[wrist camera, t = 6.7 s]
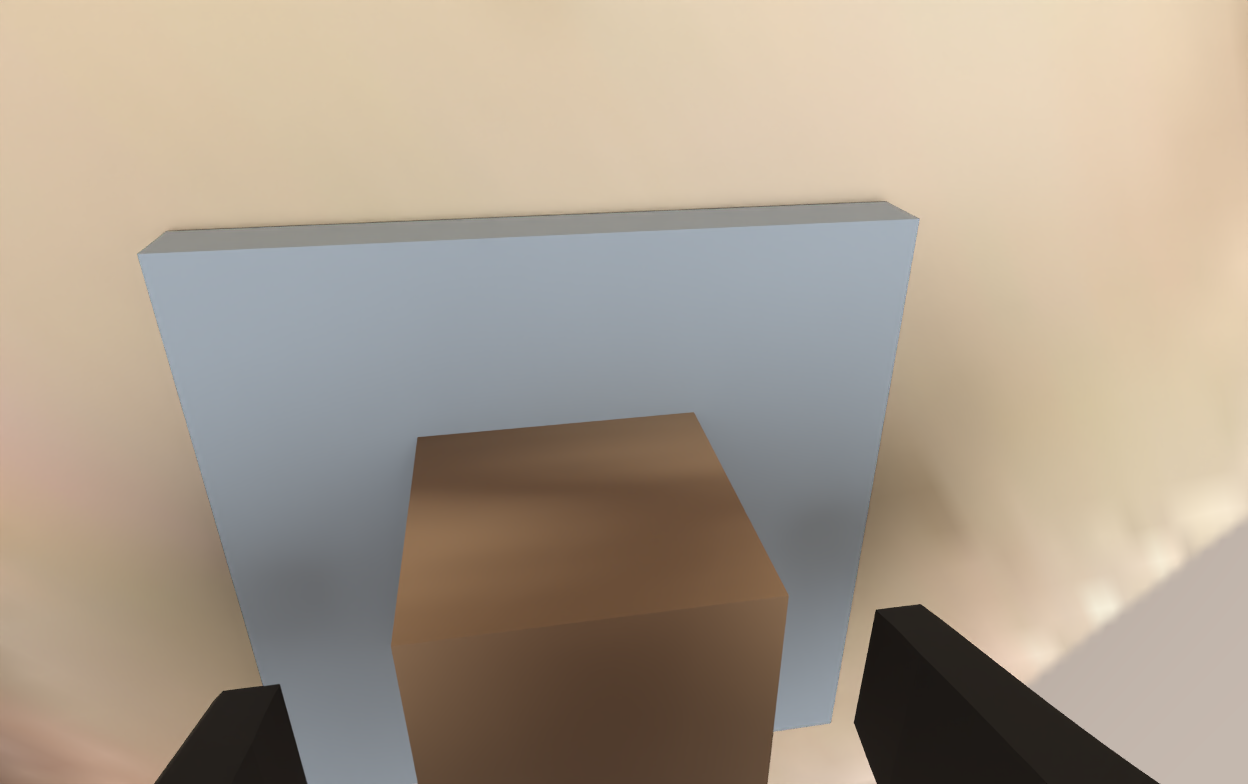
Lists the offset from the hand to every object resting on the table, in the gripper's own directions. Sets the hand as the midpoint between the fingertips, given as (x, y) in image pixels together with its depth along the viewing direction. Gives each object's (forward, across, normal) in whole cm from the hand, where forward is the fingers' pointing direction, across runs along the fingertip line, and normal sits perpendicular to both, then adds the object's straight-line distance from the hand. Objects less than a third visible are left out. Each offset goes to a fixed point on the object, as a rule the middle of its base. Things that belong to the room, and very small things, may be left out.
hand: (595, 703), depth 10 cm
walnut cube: (+3, 0, 0) cm, 3 cm away
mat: (+4, 0, 0) cm, 4 cm away
